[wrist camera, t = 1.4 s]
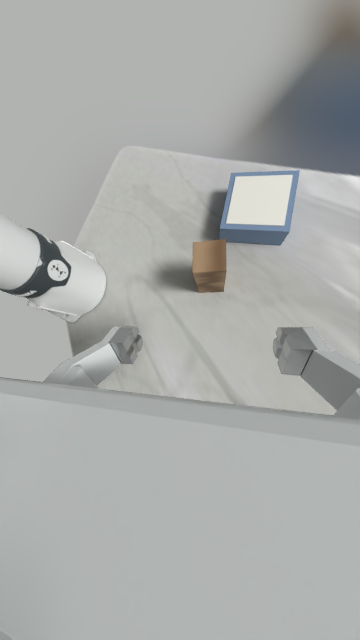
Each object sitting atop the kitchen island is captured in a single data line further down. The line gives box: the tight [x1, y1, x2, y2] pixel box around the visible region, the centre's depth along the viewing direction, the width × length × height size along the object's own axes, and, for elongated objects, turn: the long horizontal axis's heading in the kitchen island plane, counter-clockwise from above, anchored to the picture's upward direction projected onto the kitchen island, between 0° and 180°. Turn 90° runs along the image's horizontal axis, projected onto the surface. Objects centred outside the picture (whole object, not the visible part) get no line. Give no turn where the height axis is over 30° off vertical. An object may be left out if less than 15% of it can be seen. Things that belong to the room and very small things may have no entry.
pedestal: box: [219, 170, 300, 245], centre depth 32 cm, size 12×12×4 cm
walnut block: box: [192, 239, 226, 293], centre depth 29 cm, size 5×5×10 cm
